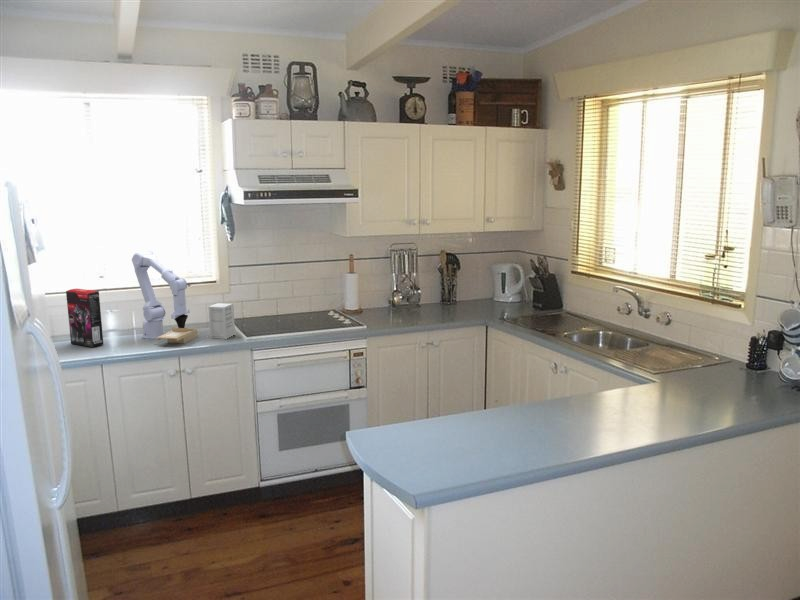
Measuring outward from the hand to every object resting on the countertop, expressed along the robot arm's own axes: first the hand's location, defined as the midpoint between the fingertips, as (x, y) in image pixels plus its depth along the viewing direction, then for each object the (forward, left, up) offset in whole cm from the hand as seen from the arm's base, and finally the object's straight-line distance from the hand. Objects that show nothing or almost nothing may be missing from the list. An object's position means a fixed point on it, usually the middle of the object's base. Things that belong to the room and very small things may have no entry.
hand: (181, 329), depth 335 cm
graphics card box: (-43, -15, -6) cm, 46 cm away
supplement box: (+17, +10, -6) cm, 21 cm away
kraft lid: (0, -7, -2) cm, 7 cm away
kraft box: (0, 0, -5) cm, 5 cm away
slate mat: (0, -1, -6) cm, 6 cm away
